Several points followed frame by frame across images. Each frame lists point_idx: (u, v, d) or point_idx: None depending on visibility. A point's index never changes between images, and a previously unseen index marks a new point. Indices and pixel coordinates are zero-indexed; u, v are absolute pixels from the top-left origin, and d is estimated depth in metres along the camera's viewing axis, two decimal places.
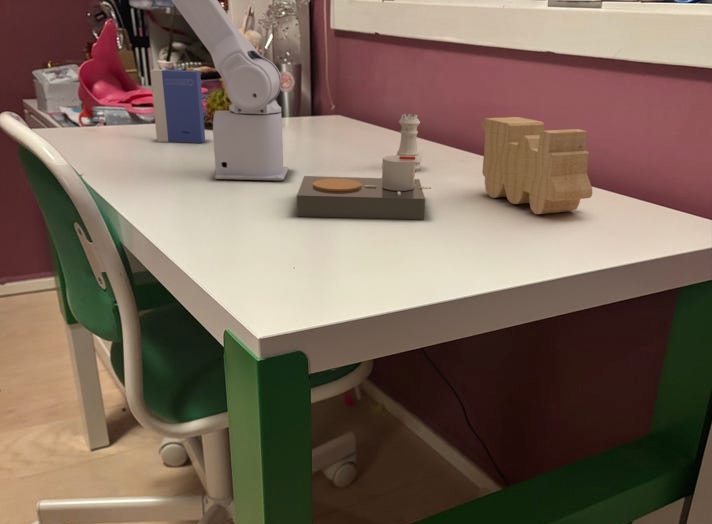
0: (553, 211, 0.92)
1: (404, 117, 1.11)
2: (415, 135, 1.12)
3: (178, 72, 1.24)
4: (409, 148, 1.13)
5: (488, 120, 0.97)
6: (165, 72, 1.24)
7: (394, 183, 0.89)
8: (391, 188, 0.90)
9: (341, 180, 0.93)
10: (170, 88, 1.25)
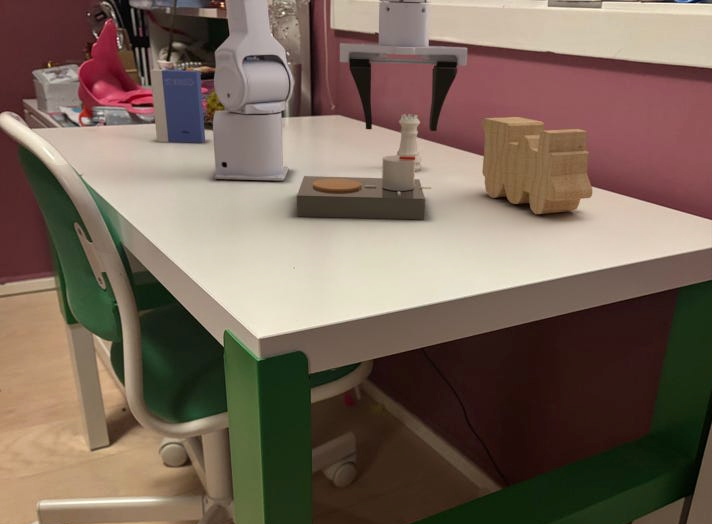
0: (553, 211, 0.92)
1: (404, 117, 1.11)
2: (415, 135, 1.12)
3: (178, 72, 1.24)
4: (409, 148, 1.13)
5: (488, 120, 0.97)
6: (165, 72, 1.24)
7: (394, 183, 0.89)
8: (391, 188, 0.90)
9: (341, 180, 0.93)
10: (170, 88, 1.25)
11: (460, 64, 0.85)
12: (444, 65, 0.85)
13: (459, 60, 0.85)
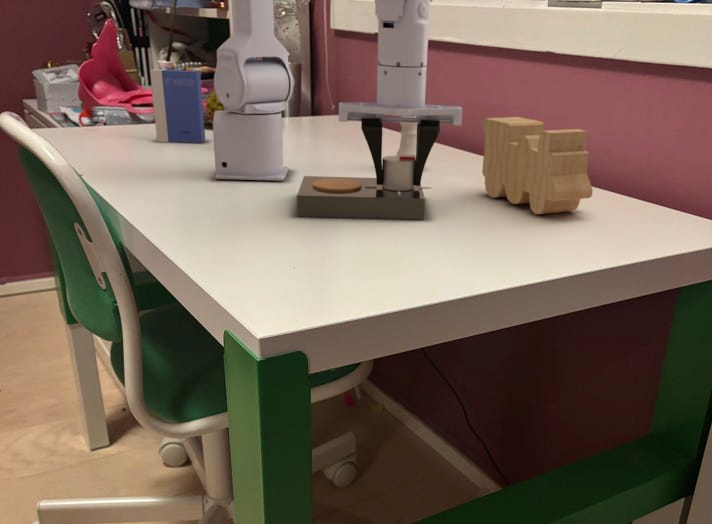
0: (553, 211, 0.92)
1: (404, 117, 1.11)
2: (415, 135, 1.12)
3: (178, 72, 1.24)
4: (409, 148, 1.13)
5: (488, 120, 0.97)
6: (165, 72, 1.24)
7: (394, 183, 0.89)
8: (391, 188, 0.90)
9: (341, 180, 0.93)
10: (170, 88, 1.25)
11: (455, 123, 0.88)
12: (427, 124, 0.88)
13: (454, 120, 0.87)
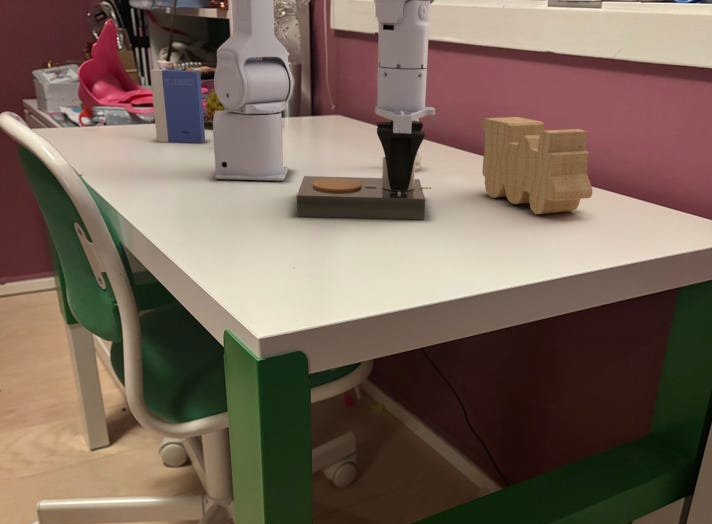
0: (553, 211, 0.92)
1: None
2: None
3: (178, 72, 1.24)
4: None
5: (488, 120, 0.97)
6: (165, 72, 1.24)
7: None
8: (412, 187, 0.91)
9: (341, 180, 0.93)
10: (170, 88, 1.25)
11: None
12: None
13: None
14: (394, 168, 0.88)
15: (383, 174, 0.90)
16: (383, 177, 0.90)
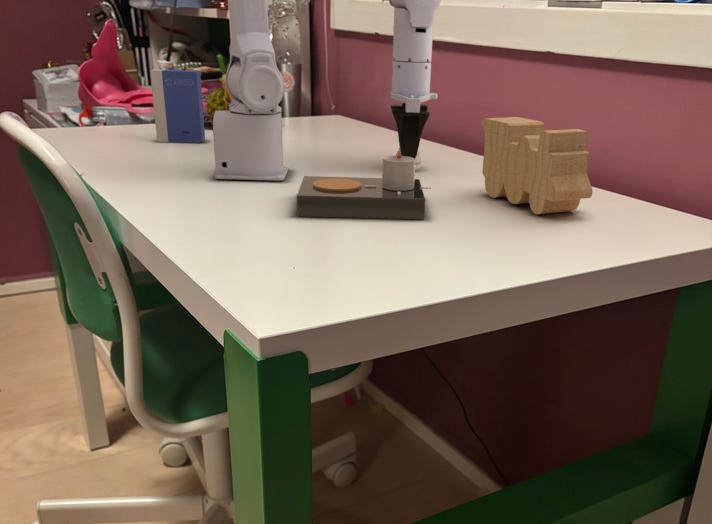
0: (553, 211, 0.92)
1: None
2: None
3: (178, 72, 1.24)
4: None
5: (488, 120, 0.97)
6: (165, 72, 1.24)
7: None
8: (412, 187, 0.91)
9: (341, 180, 0.93)
10: (170, 88, 1.25)
11: None
12: None
13: None
14: (405, 141, 1.11)
15: (383, 174, 0.90)
16: (383, 177, 0.90)
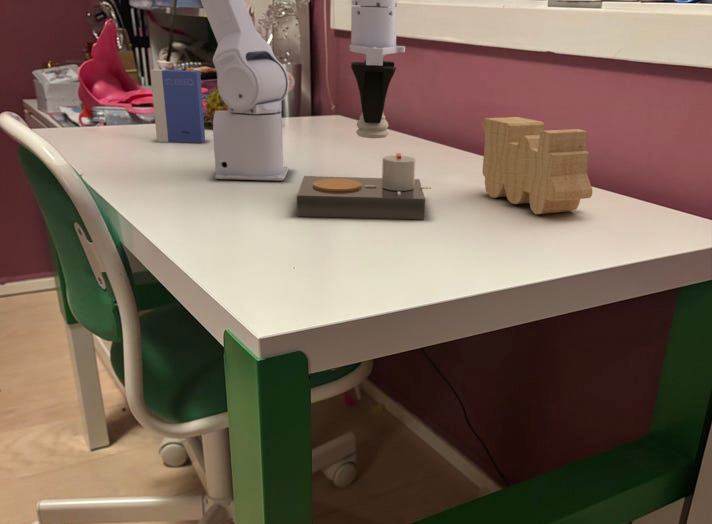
0: (553, 211, 0.92)
1: None
2: None
3: (178, 72, 1.24)
4: None
5: (488, 120, 0.97)
6: (165, 72, 1.24)
7: None
8: (412, 187, 0.91)
9: (341, 180, 0.93)
10: (170, 88, 1.25)
11: None
12: None
13: None
14: (367, 102, 0.95)
15: (383, 174, 0.90)
16: (383, 177, 0.90)
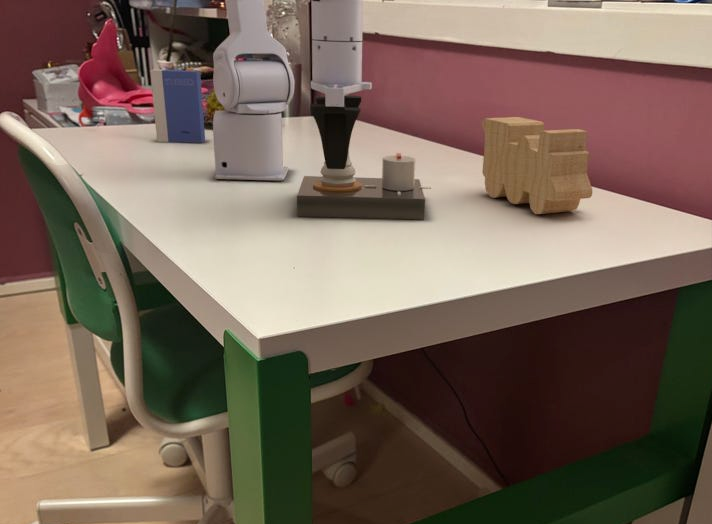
0: (553, 211, 0.92)
1: None
2: None
3: (178, 72, 1.24)
4: None
5: (488, 120, 0.97)
6: (165, 72, 1.24)
7: None
8: (412, 187, 0.91)
9: None
10: (170, 88, 1.25)
11: None
12: (345, 95, 0.91)
13: None
14: (330, 146, 0.85)
15: (383, 174, 0.90)
16: (383, 177, 0.90)
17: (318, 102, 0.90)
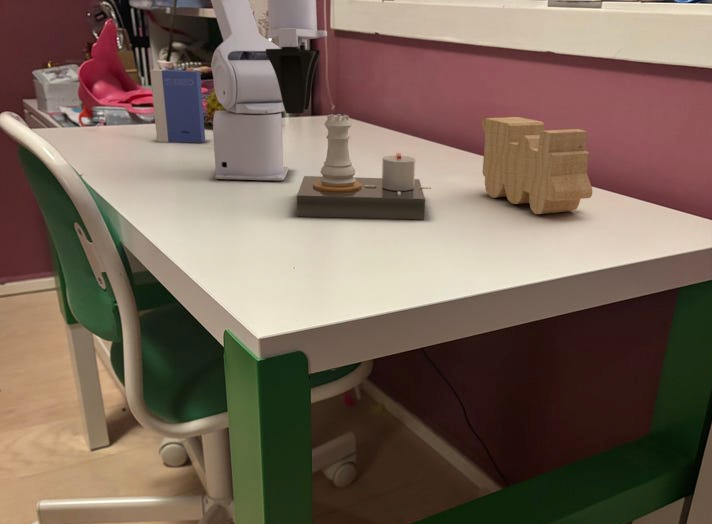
0: (553, 211, 0.92)
1: (330, 118, 0.87)
2: (345, 141, 0.88)
3: (178, 72, 1.24)
4: (337, 158, 0.88)
5: (488, 120, 0.97)
6: (165, 72, 1.24)
7: None
8: (412, 187, 0.91)
9: None
10: (170, 88, 1.25)
11: (306, 47, 0.96)
12: (304, 48, 0.94)
13: (306, 44, 0.95)
14: (287, 90, 0.87)
15: (383, 174, 0.90)
16: (383, 177, 0.90)
17: None
